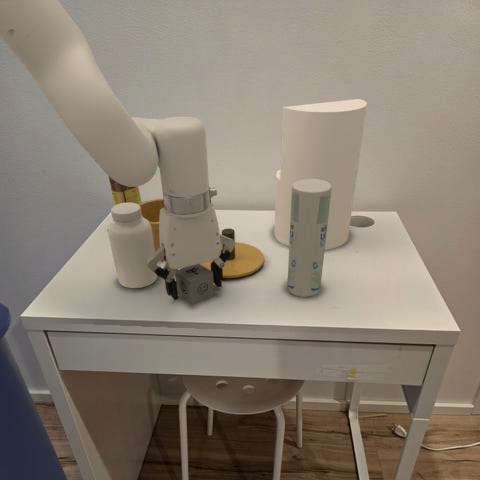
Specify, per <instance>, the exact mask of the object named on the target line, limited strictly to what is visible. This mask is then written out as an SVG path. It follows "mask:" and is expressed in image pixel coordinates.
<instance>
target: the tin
mask: <svg viewBox="0 0 480 480" xmlns="http://www.w3.org/2000/svg"><path fill="white" fill-rule="evenodd" d="M138 205H139V206H140V207H141V212H142V217H143V218H145V219H147V220H148V221H149V223H150V225H151V229H152V236H153V243H154V250H155V251H156V250H157V249H159V248H160V239H159V216H160V210H161V209H162V208H165V207H164V199H163V198H156V199H150V200H146V201H143V202H142V203H140V204H138ZM160 261H164V260H163V259H161V260H160Z"/></svg>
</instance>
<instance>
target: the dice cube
mask: <svg viewBox="0 0 480 480" xmlns="http://www.w3.org/2000/svg"><path fill="white" fill-rule="evenodd" d="M174 279H175V281H176V284H177V292H178V297H181V298H182V299H184V300H185V301H186V302H187V303H189V304H190V305H192V306H194V305H197V304H198V303H201V302H203V301H206V300H207V299H209V298H212V297H213V296H215V284H214V281H213V272H212V271H210V270H209V269H207V268H205V267H204V266H202V265H200V264H196V265H192V266H188V267H184V268H180V269H178V271H177V273H176V274H175V276H174Z"/></svg>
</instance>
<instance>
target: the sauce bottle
mask: <svg viewBox="0 0 480 480" xmlns="http://www.w3.org/2000/svg"><path fill="white" fill-rule="evenodd" d="M108 180H109V185H110V191H111V195H112V200H113V203H114V206H115V205H117V204H121V203H136V204H140V203H143V202H142V198H141V192H140V186H137V187H129V186H125V185H122V184H120V183H118V182H116V181H115V180H113V179H112V178H111V177H109V176H108Z"/></svg>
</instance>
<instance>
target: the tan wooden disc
mask: <svg viewBox="0 0 480 480" xmlns="http://www.w3.org/2000/svg"><path fill="white" fill-rule="evenodd" d="M221 235H223V236H226V237H228V238H231V239H232V240H234V241H235V243H236V244H235V246H234V248H233V250H232V252H231V255H230V257H229V258H228V259H227V261H226V262H225V266H224V267H223V268H222V269H223V279H233V278H241V277H245V276H249V275H251V274H253V273H255V272H257V271H259V269H261V268H262V266H263V264H264V263H265V256H264V253H263V252H262V251H261V250H260V249H259V248H258V247H257V246H254V245H252V244H248V243H245V242H237V241H236V233H235V229H233V228H224V229H222V230H221ZM224 246H225V244H222V243H221V250H222V249H223V248H224ZM211 262H213V260H211V261H207V262H203V263H200V265H202V266H204V267H205V268H207V269H209V270H210V271H211Z"/></svg>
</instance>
